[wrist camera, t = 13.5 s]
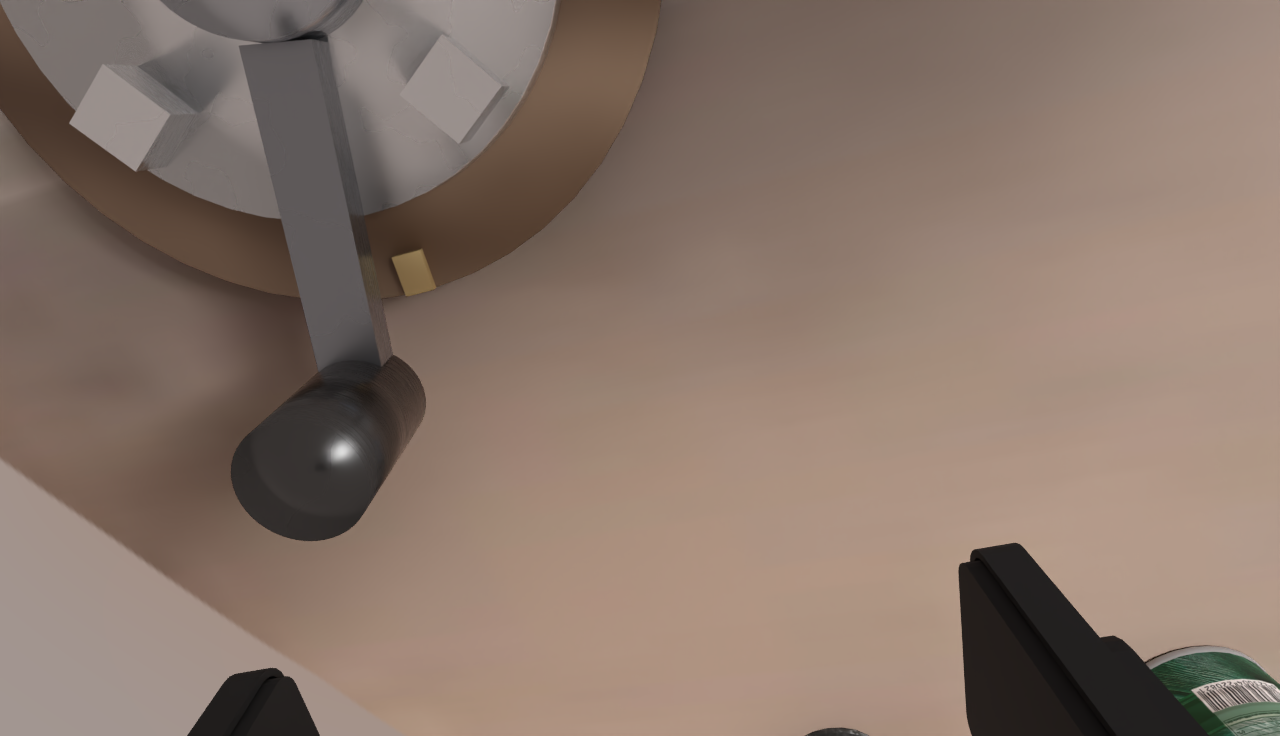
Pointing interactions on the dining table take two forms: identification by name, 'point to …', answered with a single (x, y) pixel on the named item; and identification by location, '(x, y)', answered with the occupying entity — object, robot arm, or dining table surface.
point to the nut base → (399, 236)
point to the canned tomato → (1222, 690)
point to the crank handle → (303, 177)
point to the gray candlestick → (837, 732)
